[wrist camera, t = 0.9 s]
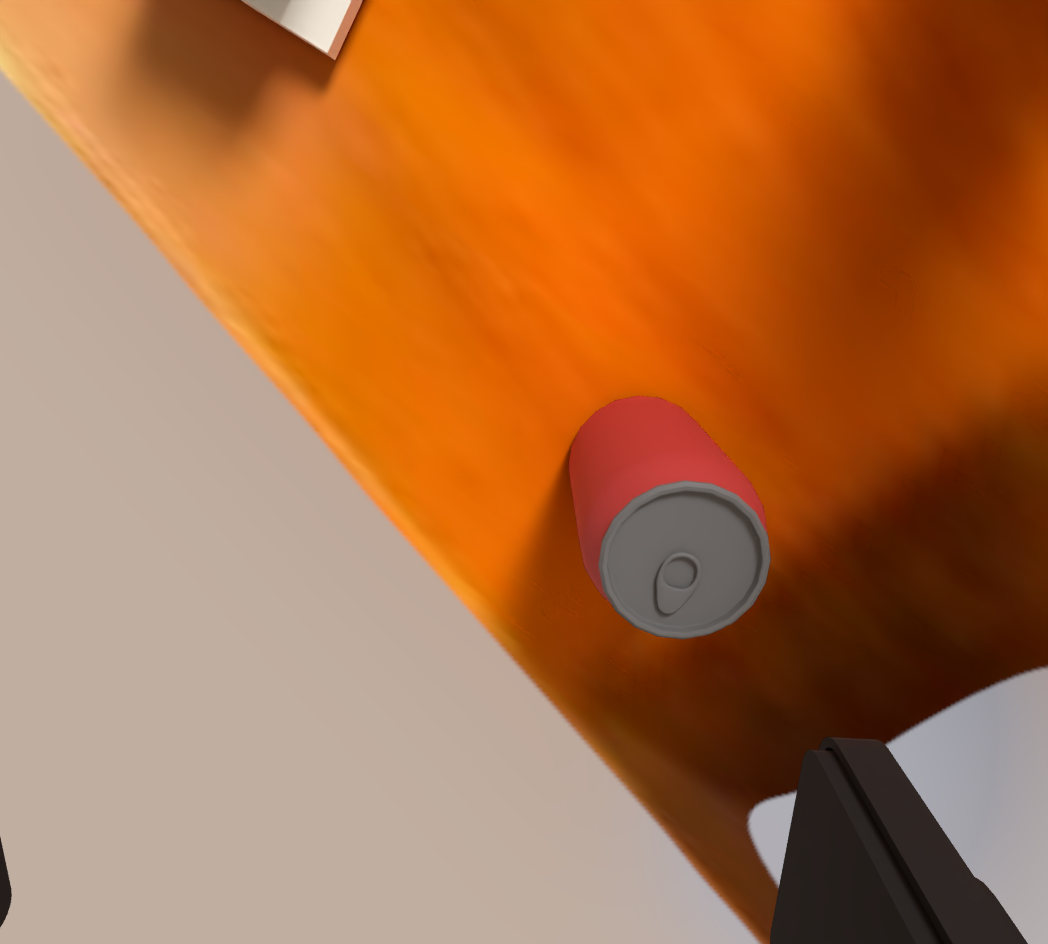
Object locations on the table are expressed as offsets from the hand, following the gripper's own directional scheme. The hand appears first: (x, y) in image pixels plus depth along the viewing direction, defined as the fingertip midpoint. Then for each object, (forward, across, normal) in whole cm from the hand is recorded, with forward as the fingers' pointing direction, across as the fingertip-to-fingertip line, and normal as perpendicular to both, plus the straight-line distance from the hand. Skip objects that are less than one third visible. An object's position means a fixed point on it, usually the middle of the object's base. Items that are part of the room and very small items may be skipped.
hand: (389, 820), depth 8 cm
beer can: (+28, -6, +4) cm, 29 cm away
